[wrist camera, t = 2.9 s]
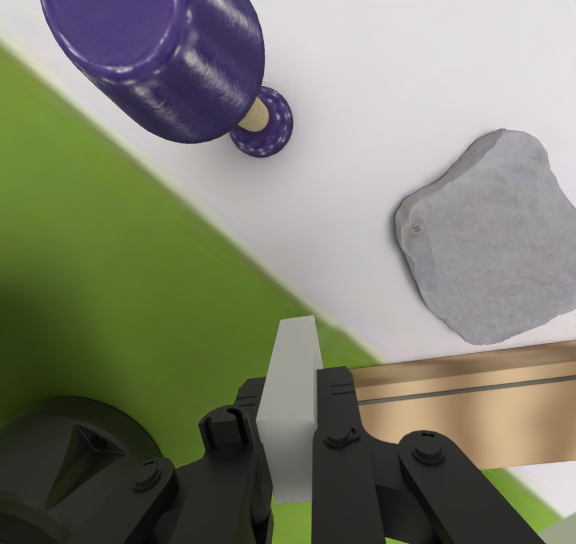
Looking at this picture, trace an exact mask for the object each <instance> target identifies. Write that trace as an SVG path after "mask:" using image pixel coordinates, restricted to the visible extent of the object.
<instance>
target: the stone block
mask: <svg viewBox="0 0 576 544" xmlns="http://www.w3.org/2000/svg"><path fill="white" fill-rule="evenodd" d="M395 224H396V235H397V239H398V242H399V245H400V247H401V249H402V251H403V252H404V254H405V256H406V259H407V261H408V263H409V265H410V268H411V273H412V275H413V277H414V279H415V280H416V282H417V285H418V288H419V292H420V293H421V295H422V297H423V299H424V301H425V303H426V305H427V307H428V308H429V309H430V310H431V311H432V312H433V313H435V314H436V315H437V316H439V317H440V318H441V319H443V320H444V322H445V323H446V324H447V325H448V326H449V327H451V328H453V329H454V330H455V331H457V333H458V334H459V335H460V336H461V337H462V338H463V339H464V341H465V342H466V341H467V342H469V343H470V344H473V345H489V344H495V343H498V342H503V341H504V340H506V339H509V338H511V337H512V336H515V335H518V334H521V333H523V332H526V331H528V330H531V329H534V328H536V327H538V326H541V325H544V324H546V323H548V322H549V321H550V320H551V319H553V318H555V317H556V316H558V315H561V314H564V313H567V312H571V311H573V310H575V309H576V208H575V207H574V206H573V205H572V204H571V202H570V201H569V200H568V199H567V197H566V196H565V194H564V193H563V191H562V190H561V188H560V187H559V185H558V182H557V179H556V177H555V176H554V174H553V173H552V171H551V170H550V165H549V161H548V155H547V152H546V150H545V148H544V147H543V145H542V144H541V143H540V141H539V140H538V139H537V138H535V137H533V136H532V135H530V134H528V133H525V132H523V131H514V130H506V129H499V130H497V131H494V132H492V133H490V134H488V135H486V136H484V137H482V138H479V139H478V140H477V141H476V142H475V143H474V144H472V145H471V146H470V147H469V148H468V149H467V151H466V152H465V153H464V154H463V155H462V156H461V157H460V158H459V159H458V161H457V162H456V163H454V164H453V165H452V166H451V167H450V168H449V169H448V171H447V172H446V174H445V175H444V176H443V177H442V178H440V179H439V180H438V181H436V182H433V183H431V184H429V185H428V186H425V187H422V188H421V189H419V190H418V191H416V192H415V193H414V194H412V195H410V196H409V197H407V198H405V199H404V200H403V202H402V203H401V206H400V207H399V209H398V210H397V212H396V217H395Z"/></svg>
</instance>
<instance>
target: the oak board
mask: <svg viewBox="0 0 576 544" xmlns="http://www.w3.org/2000/svg"><path fill="white" fill-rule="evenodd" d="M349 371H350V372H351V373H352V375H353V380H354V385H355V390H356V395H357V401H358V406H359V411H360V416H361V421H362V424H363V427H364V429H365V430H366V431H367V433H369V434H370V435H371V436H373V437H374V438H377V439H379V440H381V441H385V442H389V443H396V444H399V441H400V440H401V439H402V438H403V436H404V435H406V434H408V433H410V432H413V431H419V430H428V431H435V432H438V433H440V434H443V435H445V436H447V437H448V438H449V439H451V440H452V441H453V442H454V443H455V444H456V445H457V446H458V447H459V448H460V449H461V450H462V451H463V452H464V454H465V455H466V456H467V457H468V458H469V459H470V460H471V461H472V462H473V464H474V465H475V466H476V467H477V468H478V469H479V470H481V469H491V468H502V467H512V466H523V465H534V464H544V463H555V462H565V461H576V340H573V341H566V342H558V343H550V344H543V345H535V346H527V347H519V348H512V349H504V350H496V351H489V352H481V353H473V354H465V355H458V356H450V357H442V358H435V359H427V360H419V361H411V362H404V363H396V364H388V365H381V366H373V367H365V368H357V369H350V370H349Z"/></svg>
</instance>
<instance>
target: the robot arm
mask: <svg viewBox="0 0 576 544" xmlns="http://www.w3.org/2000/svg"><path fill="white" fill-rule="evenodd" d="M198 426H199V429H200V433H201V436H202V439H203V443H204V446H205V450H206V451H205V454H204V456H203V458H202V459H200V460H198V461H196V462H193V463H190V464H188V465H185V466H182V467H179V468H176V469H175V467H174V464H173V463H172V461H171V460H170V459H167V458H165V457H162V456H161V454H160V452H159V450H158V448H157V447H156V445H155V444H154V442H153V441H152V439H151V438H150V437H149V436H148V434H147V433H146V432H145V431H144V430H143V429H142V428H141V427H140V426H139V425H138V424H136V423H135V422H134V421H133V420H131V419H130V418H129V417H127V416H126V415H124V414H123V413H121V412H119V411H117V410H115V409H114V408H111V407H109V406H107V405H104V404H102V403H99V402H96V401H92V400H88V399H83V398H75V397H57V398H50V399H46V400H42V401H39V402H36V403H34V404H32V405H30V406H28V407H26V408H25V409H23V410H22V411H21V412H19V413H18V414H17V415H16V416H14V417H13V418H12V419H11V420H9V421H8V422H7V423H6V424H4V425H3V426H2V427H1V428H0V544H271V543H272V534H273V526H274V522H273V514H272V510H271V506H270V505H271V498H272V490H273V494H274V498H275V502H276V504H287V503H300V502H312V535H311V544H386V540H385V537H387V538H391V539H394V540H398V541H401V542H405V543H409V544H545V542H544V541H543V540H542V539H541V538H540V537H539V536H538V535H537V533H536V532H535V531H534V530H533V529H532V528H531V527H530V526H529V525H528V523H527V522H526V521H525V520H524V519H523V518H522V517H521V516H520V515H519V513H518V512H517V511H516V510H515V509H514V508H513V507H512V506H511V505H510V504H509V502H508V501H507V500H506V499H505V498H504V497H503V496H502V495H501V494H500V492H499V491H498V490H497V489H496V488H495V487H494V486H493V485H492V484H491V482H490V481H489V480H488V479H487V478H486V477H485V476H484V475H483V474H482V472H481V471H480V470H479V469H478V468H477V467H476V466H475V465H474V464H473V462H472V461H471V460H470V459H469V458H468V457H467V456H466V455H465V454H464V452H463V451H462V450H461V449H460V448H459V447H458V446H457V445H456V444H455V443H454V442H453V441H452V440H451V439H449V438H448V437H447V436H445V435H443V434H440V433H438V432H435V431H428V430H419V431H413V432H410V433H408V434H406V435H404V436H403V438H402V439H401V440H400V441H399V444H396V443H389V442H385V441H381V440H379V439H377V438H374V437H373V436H371V435H370V434H369V433H367V431H366V430H365V429H364V427H363V424H362V421H361V416H360V411H359V406H358V401H357V395H356V390H355V385H354V380H353V375H352V373H351V372H350V371H349V370H348V369H347V368H346V367H345V366H342V367H334V368H326V369H323V364H322V358H321V352H320V347H319V341H318V335H317V330H316V324H315V318H314V315H310V316H303V317H297V318H290V319H283V320H280V324H279V328H278V332H277V336H276V340H275V344H274V348H273V352H272V357H271V361H270V365H269V369H268V373H267V377H261V378H253V379H248V380H247V381H246V382H245V383H244V384H243V385H242V386H241V387H240V388H239V391H238V394H237V397H236V400H235V402H234V405H227V406H223V407H219V408H217V409H215V410H213V411H211V412H209V413H208V414H207V415H205V416H204V417H203V418H202V419H201V421H200V422H199V424H198Z"/></svg>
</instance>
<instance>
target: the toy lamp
mask: <svg viewBox="0 0 576 544" xmlns="http://www.w3.org/2000/svg"><path fill="white" fill-rule="evenodd" d="M40 1H41V5H42V9H43V12H44V16H45V19H46V22H47V24H48V26H49V28H50V30H51V32H52V34H53V36H54V38H55V40H56V41H57V43H58V44H59V46H60V47H61V48H62V50H63V51H64V53H65V54H66V56H67V57H68V58H69V59H70V60H71V61H72V63H73V64H74V65H75V66H76V67H77V68H78V69H79V70H80V71H81V72H82V73H83V74H84V75H85V76H86V77H87V78H88V79H89V80H90V81H91V82H92V83H93V84H94V85H95V86H96V87H97V88H98V89H100V90H101V91H102V92H103V93H104V94H105V95H106V96H107V97H108V98H110V99H111V100H112V101H113V102H114V103H115V104H116V105H117V106H118V107H119V108H120V109H121V110H123V111H124V112H125V113H126V114H127V115H128V116H129V117H131V118H132V119H133V120H134V121H135V122H136V123H138V124H139V125H140V126H142V127H143V128H144V129H146V130H147V131H149V132H151V133H153V134H155V135H157V136H159V137H161V138H164V139H166V140H170V141H173V142H178V143H185V144H195V143H201V142H207V141H211V140H213V139H216V138H219V137H221V136H223V135H224V134H226V133H228V132H229V133H230V136H231V138H232V140H233V142H234V143H235V145H236V146H237V147H238V148H239V149H240V150H241V151H242V152H244V153H246V154H248V155H250V156H252V157H257V158H262V157H268V156H271V155H274V154H276V153H277V152H279V151H280V150H281V149H282V148H283V147H284V146H285V145H286V144H287V142H288V141H289V139H290V136H291V133H292V129H293V117H292V113H291V109H290V107H289V105H288V103H287V101H286V100H285V99H284V98H283V96H282V95H281V94H279V93H278V92H277V91H275V90H273V89H271V88H268V87H264V86H261V85H262V79H263V76H264V66H265V48H264V40H263V34H262V29H261V26H260V23H259V20H258V16H257V13H256V11H255V9H254V8H253V6H252V4H251V2H250V0H40Z"/></svg>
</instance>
